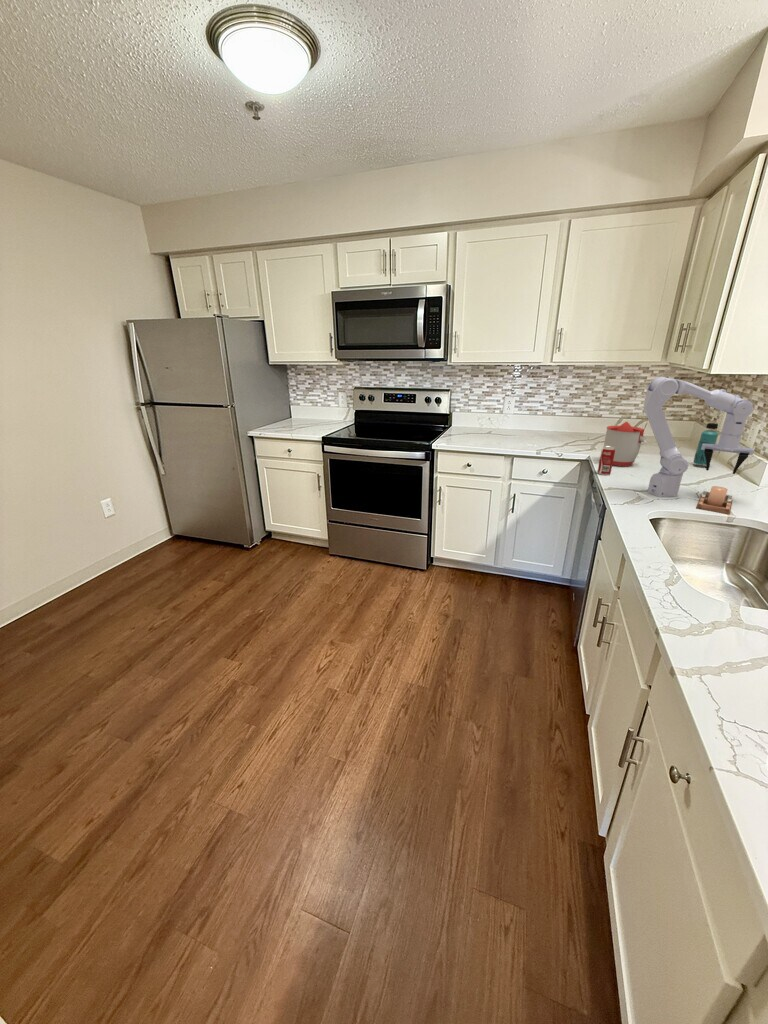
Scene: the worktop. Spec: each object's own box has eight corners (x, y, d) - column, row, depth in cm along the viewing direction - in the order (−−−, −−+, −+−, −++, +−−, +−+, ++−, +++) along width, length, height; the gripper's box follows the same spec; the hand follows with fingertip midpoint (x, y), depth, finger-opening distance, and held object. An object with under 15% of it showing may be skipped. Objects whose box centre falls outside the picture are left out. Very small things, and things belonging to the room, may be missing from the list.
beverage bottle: (693, 463, 201) (705, 421, 194) (710, 466, 197) (723, 423, 189) (690, 466, 197) (702, 423, 190) (707, 469, 192) (720, 425, 185)
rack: (729, 517, 139) (731, 510, 138) (694, 510, 145) (696, 504, 144) (731, 502, 152) (733, 495, 151) (700, 496, 158) (702, 490, 157)
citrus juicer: (635, 470, 191) (645, 426, 183) (595, 464, 202) (603, 422, 194) (644, 463, 201) (654, 421, 194) (605, 457, 212) (613, 417, 205)
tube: (713, 510, 143) (719, 490, 140) (702, 505, 147) (708, 486, 144) (724, 509, 143) (731, 490, 141) (713, 504, 147) (719, 485, 145)
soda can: (599, 471, 190) (604, 445, 185) (611, 473, 187) (617, 446, 182) (595, 474, 186) (600, 447, 181) (608, 476, 183) (614, 449, 178)
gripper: (704, 433, 148) (694, 470, 153) (758, 438, 140) (745, 477, 145) (706, 430, 153) (696, 466, 158) (758, 435, 145) (746, 473, 150)
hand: (720, 471), depth 152 cm, fingers open, 7 cm apart
